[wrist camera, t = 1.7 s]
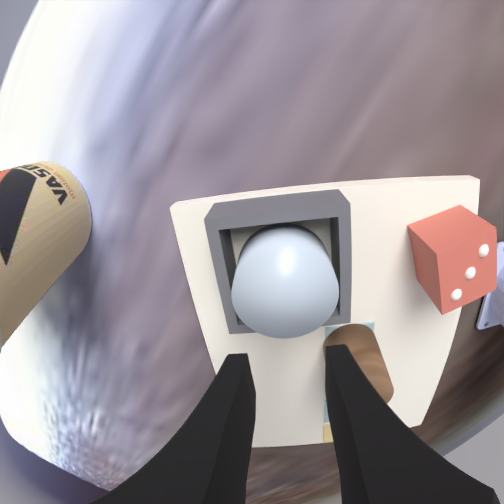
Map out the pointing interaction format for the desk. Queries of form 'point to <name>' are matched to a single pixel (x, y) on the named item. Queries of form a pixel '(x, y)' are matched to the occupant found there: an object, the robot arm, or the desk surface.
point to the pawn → (364, 355)
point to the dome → (284, 282)
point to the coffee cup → (37, 235)
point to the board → (350, 292)
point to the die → (454, 257)
